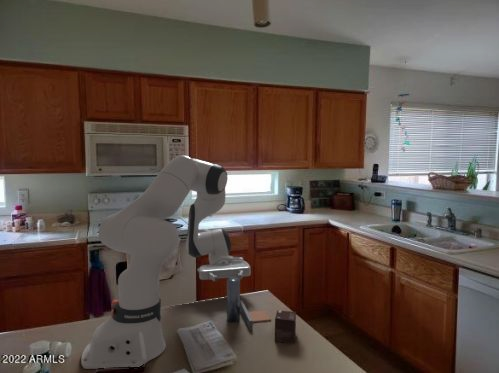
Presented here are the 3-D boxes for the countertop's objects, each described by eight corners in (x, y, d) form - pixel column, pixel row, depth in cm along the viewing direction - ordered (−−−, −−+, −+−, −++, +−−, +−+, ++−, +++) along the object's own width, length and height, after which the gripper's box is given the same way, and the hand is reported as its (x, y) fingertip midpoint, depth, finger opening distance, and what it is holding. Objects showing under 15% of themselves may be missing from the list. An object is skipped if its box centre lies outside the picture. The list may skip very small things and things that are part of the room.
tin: (228, 323, 117) (228, 282, 116) (225, 317, 121) (225, 278, 120) (240, 322, 118) (241, 281, 117) (238, 316, 122) (238, 277, 121)
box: (294, 344, 105) (294, 320, 104) (274, 341, 106) (274, 318, 105) (295, 334, 111) (296, 311, 110) (276, 331, 112) (277, 309, 111)
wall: (249, 329, 113) (249, 320, 112) (239, 308, 128) (239, 300, 128) (252, 329, 113) (252, 320, 113) (242, 308, 128) (242, 300, 128)
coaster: (251, 322, 117) (251, 321, 117) (246, 313, 124) (246, 312, 124) (271, 320, 119) (271, 319, 119) (265, 311, 126) (265, 310, 126)
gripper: (196, 260, 141) (199, 272, 128) (246, 257, 146) (254, 267, 133) (196, 275, 142) (199, 288, 129) (246, 271, 147) (254, 284, 133)
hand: (227, 278), depth 131 cm, fingers open, 8 cm apart
